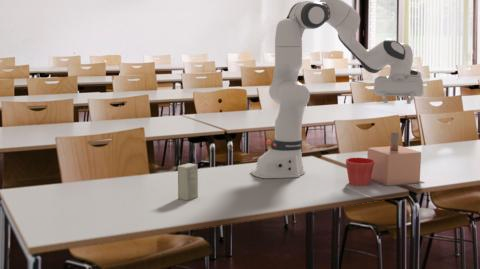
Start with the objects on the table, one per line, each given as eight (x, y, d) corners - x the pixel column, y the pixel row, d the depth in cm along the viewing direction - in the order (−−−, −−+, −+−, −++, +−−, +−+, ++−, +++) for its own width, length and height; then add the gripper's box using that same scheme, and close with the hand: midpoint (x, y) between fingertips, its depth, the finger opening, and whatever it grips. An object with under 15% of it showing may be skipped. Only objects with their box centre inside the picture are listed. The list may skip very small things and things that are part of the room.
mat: (385, 187, 261) (386, 186, 261) (361, 177, 278) (361, 176, 278) (425, 183, 268) (425, 182, 268) (398, 174, 284) (399, 173, 284)
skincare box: (189, 195, 248) (189, 162, 246) (198, 197, 246) (198, 164, 244) (177, 198, 244) (177, 165, 242) (186, 200, 241) (186, 167, 239)
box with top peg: (387, 185, 263) (389, 136, 260) (366, 177, 277) (368, 130, 274) (419, 182, 268) (422, 134, 265) (398, 174, 282) (400, 128, 279)
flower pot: (373, 188, 260) (374, 163, 258) (344, 186, 262) (345, 162, 261) (373, 182, 270) (374, 158, 269) (345, 180, 272) (346, 156, 271)
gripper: (374, 71, 288) (370, 97, 281) (424, 72, 282) (421, 98, 274) (375, 81, 293) (372, 106, 286) (424, 82, 287) (422, 108, 279)
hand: (396, 102), depth 280 cm, fingers open, 8 cm apart
